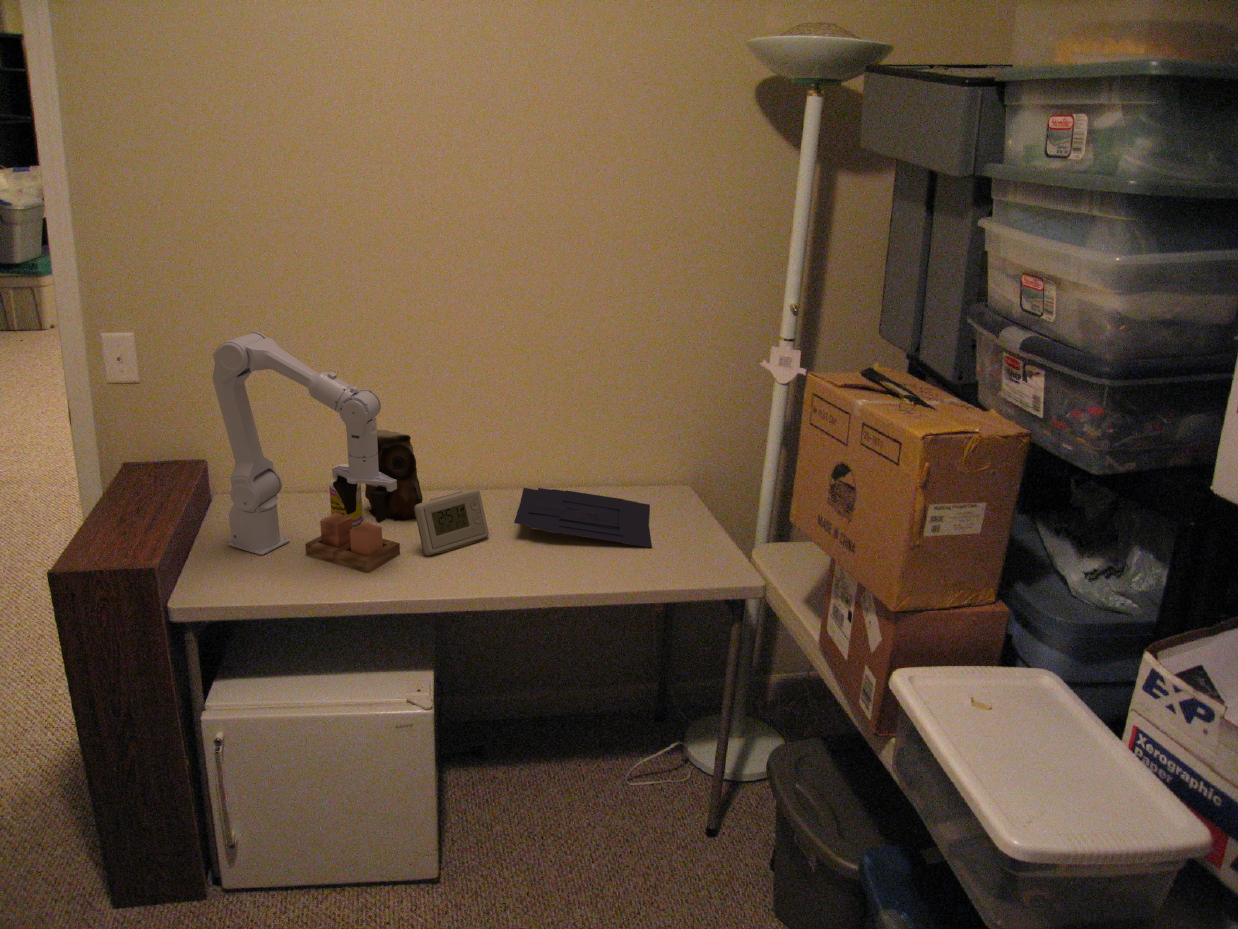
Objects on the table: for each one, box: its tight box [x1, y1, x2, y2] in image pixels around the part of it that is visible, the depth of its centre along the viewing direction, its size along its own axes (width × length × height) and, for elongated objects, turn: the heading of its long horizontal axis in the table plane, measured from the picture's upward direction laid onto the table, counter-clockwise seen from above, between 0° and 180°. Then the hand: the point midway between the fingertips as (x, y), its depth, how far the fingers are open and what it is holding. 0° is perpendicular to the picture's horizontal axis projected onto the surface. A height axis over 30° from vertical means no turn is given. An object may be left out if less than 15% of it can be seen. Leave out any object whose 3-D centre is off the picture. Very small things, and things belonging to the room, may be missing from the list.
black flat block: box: [513, 487, 653, 548], centre depth 216 cm, size 24×30×4 cm
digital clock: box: [414, 488, 490, 556], centre depth 202 cm, size 16×9×11 cm, turn 121°
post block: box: [350, 521, 383, 556], centre depth 194 cm, size 4×4×6 cm
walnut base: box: [304, 513, 401, 574], centre depth 196 cm, size 16×10×7 cm, turn 64°
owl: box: [364, 429, 424, 522], centre depth 214 cm, size 13×13×20 cm
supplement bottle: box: [328, 463, 363, 527], centre depth 210 cm, size 7×7×13 cm
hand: (366, 516), depth 192 cm, fingers open, 7 cm apart
